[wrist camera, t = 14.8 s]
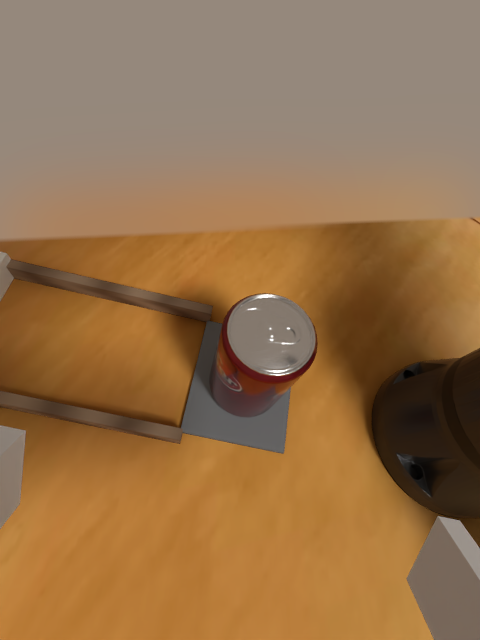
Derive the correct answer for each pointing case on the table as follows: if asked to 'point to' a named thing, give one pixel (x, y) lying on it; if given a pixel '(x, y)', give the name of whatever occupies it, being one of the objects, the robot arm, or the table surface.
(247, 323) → the soda can
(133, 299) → the shelf lane
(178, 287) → the table surface
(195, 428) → the mat
